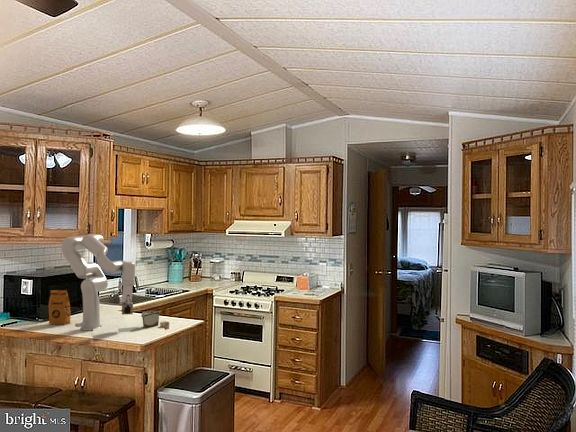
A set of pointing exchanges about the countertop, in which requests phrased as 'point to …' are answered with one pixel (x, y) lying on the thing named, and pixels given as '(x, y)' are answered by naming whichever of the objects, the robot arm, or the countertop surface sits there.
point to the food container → (150, 318)
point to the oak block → (164, 324)
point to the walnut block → (124, 308)
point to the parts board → (128, 329)
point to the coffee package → (59, 307)
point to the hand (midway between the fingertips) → (127, 311)
